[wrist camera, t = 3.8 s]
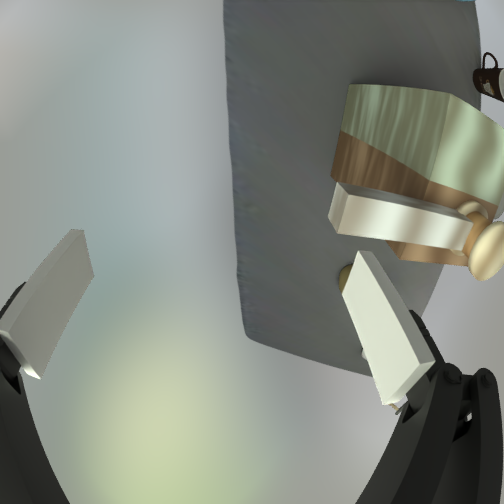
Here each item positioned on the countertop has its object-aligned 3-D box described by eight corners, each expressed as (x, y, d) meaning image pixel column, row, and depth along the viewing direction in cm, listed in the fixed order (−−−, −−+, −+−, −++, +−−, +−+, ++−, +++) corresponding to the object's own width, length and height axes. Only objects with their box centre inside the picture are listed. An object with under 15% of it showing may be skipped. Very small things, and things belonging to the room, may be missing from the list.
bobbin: (489, 206, 24) (520, 230, 19) (469, 253, 28) (494, 281, 23) (341, 163, 22) (369, 187, 17) (323, 233, 26) (341, 272, 21)
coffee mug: (491, 98, 39) (519, 106, 30) (471, 96, 40) (500, 103, 31) (486, 56, 33) (514, 59, 24) (465, 50, 33) (494, 52, 25)
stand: (330, 175, 52) (399, 259, 28) (349, 84, 42) (450, 93, 17) (388, 187, 53) (471, 266, 29) (409, 104, 43) (517, 139, 19)
